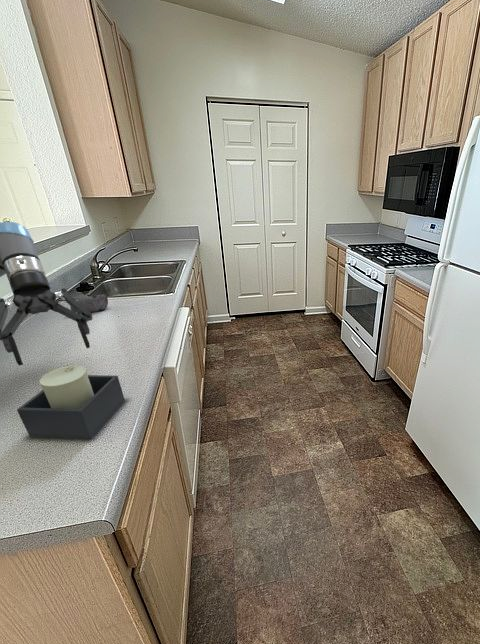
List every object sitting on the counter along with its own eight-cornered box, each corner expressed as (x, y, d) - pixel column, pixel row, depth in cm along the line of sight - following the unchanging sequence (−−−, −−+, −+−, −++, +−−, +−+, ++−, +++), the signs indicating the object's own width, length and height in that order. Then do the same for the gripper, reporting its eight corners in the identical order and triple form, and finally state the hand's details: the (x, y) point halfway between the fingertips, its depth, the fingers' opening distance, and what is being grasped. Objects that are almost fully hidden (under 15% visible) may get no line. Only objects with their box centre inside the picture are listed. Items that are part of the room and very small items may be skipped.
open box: (30, 437, 76) (16, 409, 72) (72, 399, 89) (62, 374, 85) (91, 439, 75) (80, 411, 72) (125, 401, 88) (117, 375, 85)
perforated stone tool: (72, 316, 144) (67, 301, 141) (72, 312, 148) (67, 298, 145) (110, 310, 151) (106, 295, 148) (110, 307, 155) (106, 292, 152)
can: (105, 401, 86) (92, 361, 81) (91, 424, 78) (75, 382, 73) (66, 405, 85) (50, 365, 80) (48, 429, 77) (29, 386, 71)
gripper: (-47, 279, 72) (-19, 365, 69) (84, 263, 87) (112, 333, 83) (-34, 296, 78) (-9, 376, 75) (86, 279, 93) (112, 345, 89)
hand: (55, 354), depth 79 cm, fingers open, 13 cm apart
